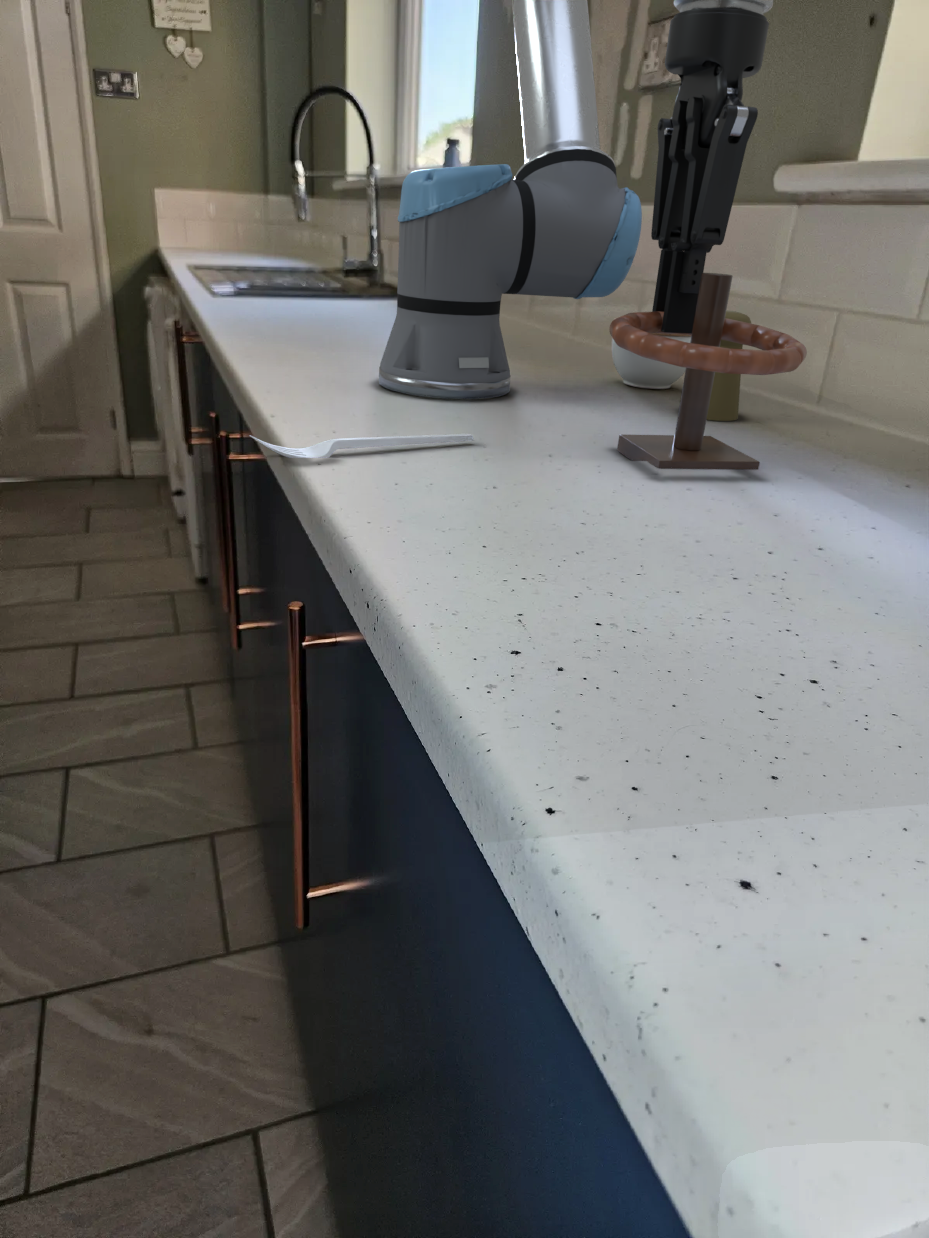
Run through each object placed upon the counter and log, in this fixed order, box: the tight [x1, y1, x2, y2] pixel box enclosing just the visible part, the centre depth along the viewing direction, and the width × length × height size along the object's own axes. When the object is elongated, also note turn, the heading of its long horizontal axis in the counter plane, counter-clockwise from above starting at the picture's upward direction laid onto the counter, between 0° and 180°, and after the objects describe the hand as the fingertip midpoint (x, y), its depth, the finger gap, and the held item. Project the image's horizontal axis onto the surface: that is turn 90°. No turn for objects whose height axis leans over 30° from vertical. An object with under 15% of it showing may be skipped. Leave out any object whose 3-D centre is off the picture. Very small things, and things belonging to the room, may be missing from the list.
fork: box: [249, 433, 475, 459], centre depth 72 cm, size 3×20×2 cm, turn 122°
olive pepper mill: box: [706, 309, 752, 422], centre depth 95 cm, size 6×6×11 cm
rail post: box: [616, 272, 761, 470], centre depth 73 cm, size 9×9×16 cm
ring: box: [608, 311, 808, 376], centre depth 71 cm, size 16×16×2 cm
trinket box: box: [611, 317, 691, 390], centre depth 111 cm, size 11×11×9 cm
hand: (671, 330), depth 77 cm, fingers closed on ring, 2 cm apart
